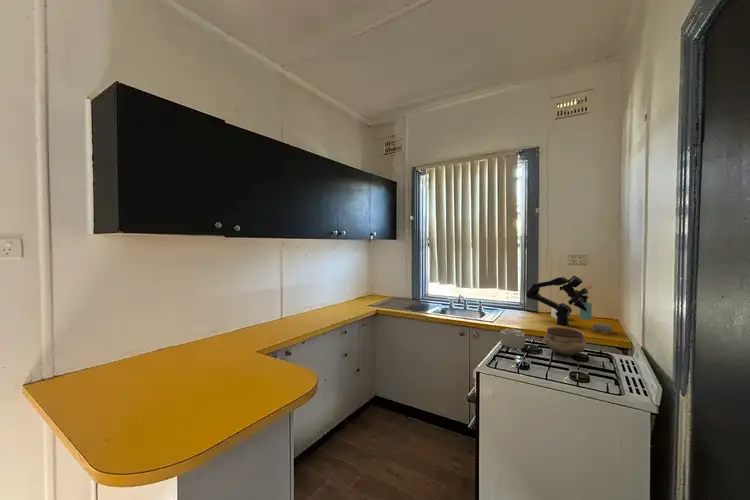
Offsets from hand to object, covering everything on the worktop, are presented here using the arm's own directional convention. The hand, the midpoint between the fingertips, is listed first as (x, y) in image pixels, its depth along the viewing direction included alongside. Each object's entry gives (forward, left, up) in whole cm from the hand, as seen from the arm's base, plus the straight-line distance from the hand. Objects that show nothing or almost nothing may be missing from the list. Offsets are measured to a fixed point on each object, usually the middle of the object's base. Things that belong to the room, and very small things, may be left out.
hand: (588, 309), depth 211 cm
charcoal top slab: (+7, +2, -12) cm, 14 cm away
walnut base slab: (+8, +2, -14) cm, 16 cm away
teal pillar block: (-1, 0, -7) cm, 7 cm away
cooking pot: (+10, -63, -14) cm, 66 cm away
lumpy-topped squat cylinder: (-15, -71, -14) cm, 74 cm away
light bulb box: (-26, +19, -14) cm, 35 cm away
